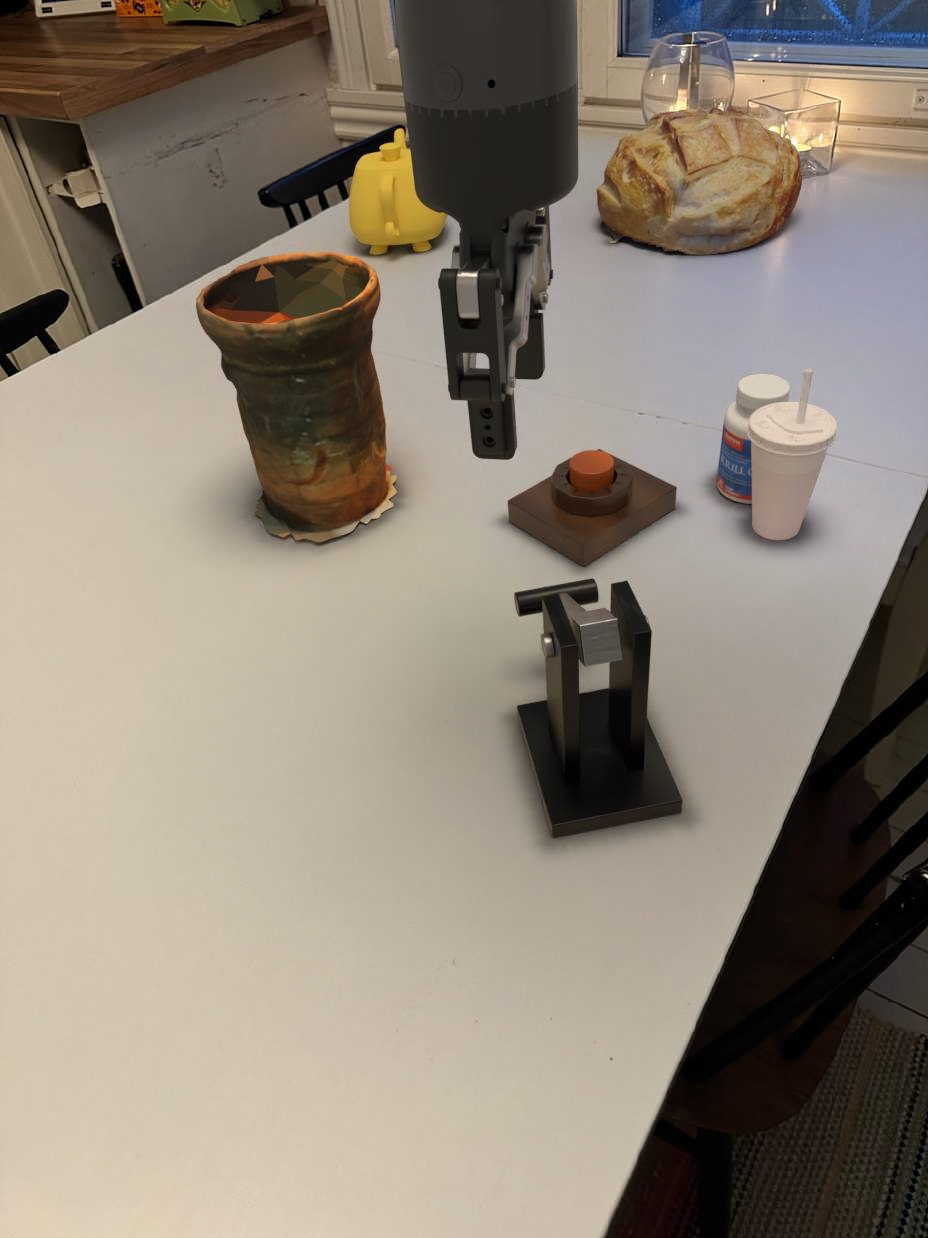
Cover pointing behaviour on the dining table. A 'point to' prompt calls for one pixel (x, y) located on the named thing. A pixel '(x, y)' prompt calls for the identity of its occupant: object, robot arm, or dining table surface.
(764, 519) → the smoothie
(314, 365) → the vessel
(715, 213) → the bread
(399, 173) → the teapot
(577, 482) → the button
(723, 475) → the pill bottle
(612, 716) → the switch bracket
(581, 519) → the button block
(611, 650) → the switch
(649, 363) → the dining table surface
